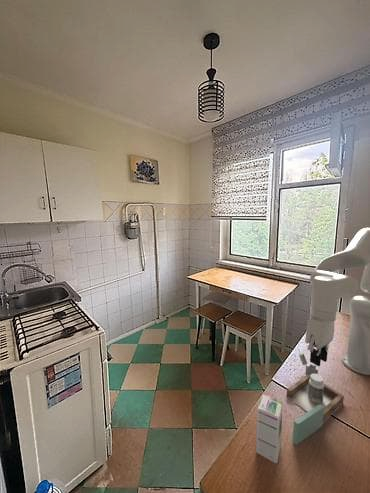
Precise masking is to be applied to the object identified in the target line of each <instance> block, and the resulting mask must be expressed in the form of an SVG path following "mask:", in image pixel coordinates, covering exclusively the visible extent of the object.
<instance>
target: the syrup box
mask: <svg viewBox="0 0 370 493" xmlns="http://www.w3.org/2000/svg"><path fill="white" fill-rule="evenodd" d="M283 404H284V403H283V402H282V401H280V400H278V399H276V398H275V397H274V398H273V397H271V396H269V395H266V394H262V395H261V396H260V401H259V403H258V406H257V416H256V443H255V444H256V445H255V446H256V448H255V449H256V454H258V455H260V456H262V457H263V458H265V459H266V460H269V461H270V462H272V463H275V464H278V461H279V458H280V452H281V447H282V429H283V427H282V426H283V408H284V407H283Z"/></svg>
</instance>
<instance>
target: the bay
mask: <svg viewBox="0 0 370 493" xmlns="http://www.w3.org/2000/svg"><path fill="white" fill-rule="evenodd" d="M309 379H310V375H309V374H308V375H306V374H305V375H304V377H302V378H301V379H299V380H298V381H296V382H295V383H294V384H292V385H291V386H289V387H288V388H286V398H287V399H289V400H290V401H291V402H293V403H294V404H295V405H297V406H298V407H300V408H301V409H302V410H303V411H304V412H305V413H307V412H308V411H310V410H312V409H313V408H315V407H316V406H318V405H319V404H321V405H323V406H324V415H323V423H324V422H326V420H328V419H329V418H330V417H331V416H332V415H333V414H334V413H335V412H336V411H337V410H338V409H339V408H340V407H341V406H342V405H344V398H345V396H344V394H342V393H340V392H339V391H336V390H335V389H334V388H332V387H330V386H329V385H327V384H325V383H324V382H323V384H324V393H323V402H322V403H315V402H313V401H312V400H310V399H309V397H308V386H309Z"/></svg>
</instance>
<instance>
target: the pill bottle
mask: <svg viewBox="0 0 370 493" xmlns="http://www.w3.org/2000/svg"><path fill="white" fill-rule="evenodd" d="M323 383H324V378H323V377H322V376H321V375H320V374H319V373H318V374H311V375H310V379H309V386H308V397H309V399H310V400H312V401H313V402H315V403H322V402H323V393H324V384H325V383H324V384H323Z"/></svg>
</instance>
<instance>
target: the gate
mask: <svg viewBox="0 0 370 493" xmlns="http://www.w3.org/2000/svg"><path fill="white" fill-rule="evenodd" d="M323 415H324V406H323V405H321V404H319V405H318V406H316V407H315V408H313V409H312V410H310V411H308V412H305V413H304V414H302V415H301V416H299V417H298V418H296V419H294V421H293V431H292V442H293V444H295V445H296V446H297V445H299V444H300V443H301V442H303V441H304V440H305V439H307V438H308V437H310V436H311V435H312V434H314V433H315V432H317V431H318V430H319V429H321V428H322V427H323V424H324V422H323Z"/></svg>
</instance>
